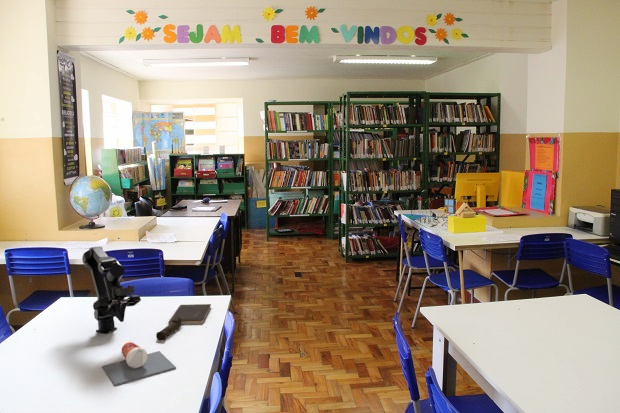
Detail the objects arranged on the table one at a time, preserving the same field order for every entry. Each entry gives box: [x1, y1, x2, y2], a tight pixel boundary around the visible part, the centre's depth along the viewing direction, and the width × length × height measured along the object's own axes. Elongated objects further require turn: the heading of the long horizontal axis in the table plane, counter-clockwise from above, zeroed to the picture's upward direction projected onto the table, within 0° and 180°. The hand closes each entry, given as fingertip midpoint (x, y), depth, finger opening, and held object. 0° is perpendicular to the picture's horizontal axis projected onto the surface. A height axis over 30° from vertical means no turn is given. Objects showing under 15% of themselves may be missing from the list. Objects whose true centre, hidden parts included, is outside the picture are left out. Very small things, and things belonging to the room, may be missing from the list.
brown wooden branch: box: [155, 317, 182, 341], centre depth 221 cm, size 19×4×5 cm, turn 165°
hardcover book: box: [167, 303, 212, 325], centre depth 242 cm, size 16×23×2 cm
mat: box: [101, 350, 177, 387], centre depth 186 cm, size 18×22×1 cm
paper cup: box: [121, 341, 148, 368], centre depth 189 cm, size 8×8×14 cm
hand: (122, 321), depth 203 cm, fingers closed
